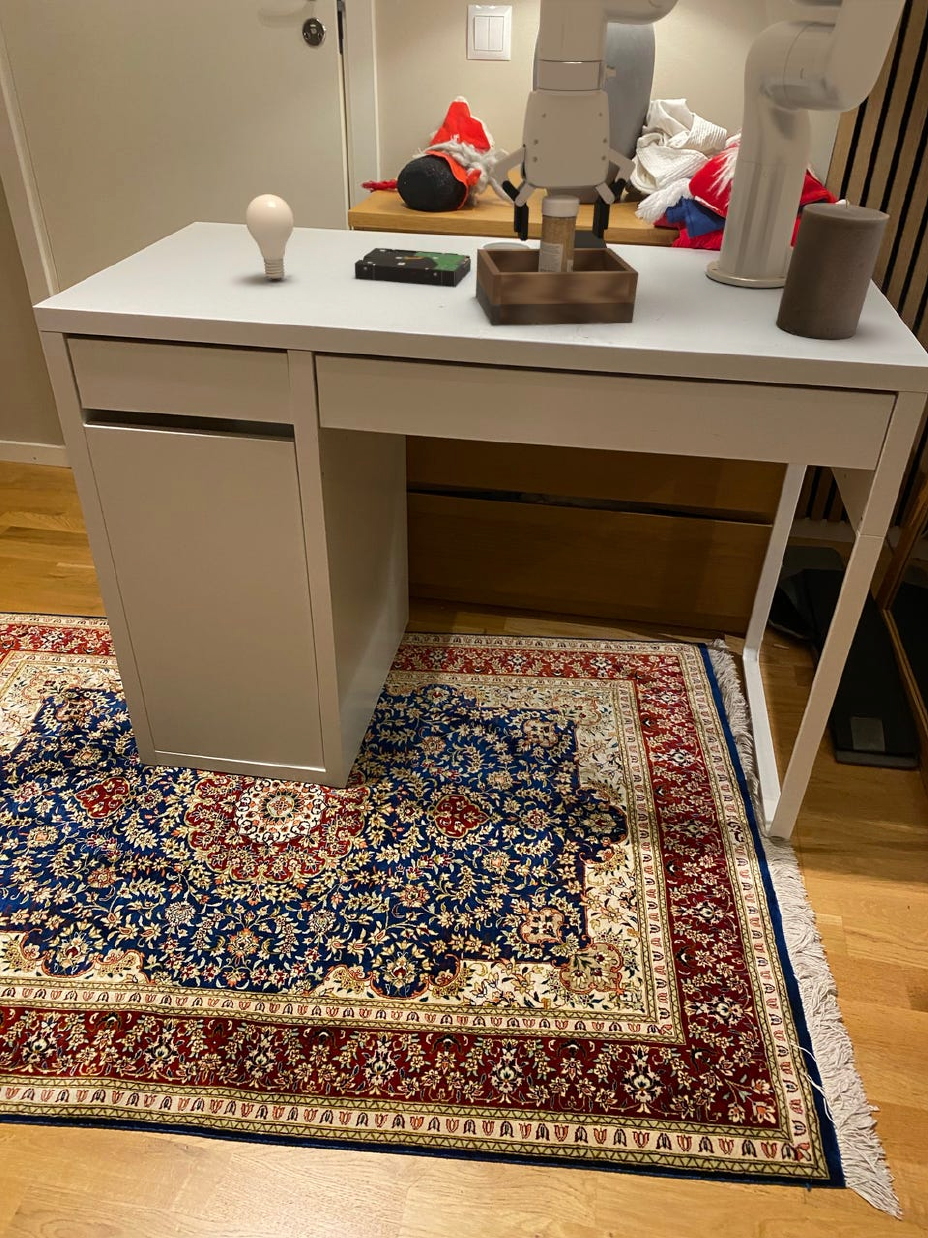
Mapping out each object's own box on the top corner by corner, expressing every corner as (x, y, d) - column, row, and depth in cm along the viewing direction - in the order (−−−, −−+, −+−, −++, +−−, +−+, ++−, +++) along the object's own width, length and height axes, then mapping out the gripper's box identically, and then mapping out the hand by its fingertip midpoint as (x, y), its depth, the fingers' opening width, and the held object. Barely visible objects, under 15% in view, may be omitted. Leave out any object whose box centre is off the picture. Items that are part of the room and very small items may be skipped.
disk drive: (354, 283, 127) (456, 290, 125) (353, 263, 126) (456, 269, 123) (375, 266, 136) (471, 272, 133) (374, 246, 134) (471, 252, 132)
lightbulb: (273, 271, 129) (265, 188, 123) (307, 278, 126) (301, 193, 120) (242, 281, 124) (232, 194, 118) (278, 288, 122) (269, 200, 116)
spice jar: (576, 310, 116) (587, 198, 109) (549, 315, 114) (558, 201, 107) (555, 302, 120) (563, 192, 112) (527, 306, 117) (534, 194, 110)
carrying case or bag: (537, 245, 148) (539, 267, 136) (538, 225, 146) (540, 246, 134) (602, 247, 148) (609, 270, 136) (604, 228, 146) (612, 249, 134)
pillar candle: (781, 336, 109) (813, 203, 101) (771, 313, 117) (800, 188, 109) (863, 343, 108) (902, 209, 100) (847, 319, 116) (883, 193, 108)
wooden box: (605, 293, 123) (610, 247, 120) (632, 322, 113) (638, 272, 109) (475, 295, 121) (477, 249, 118) (491, 325, 111) (493, 274, 107)
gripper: (633, 74, 106) (618, 228, 116) (490, 76, 104) (487, 232, 114) (653, 80, 100) (635, 242, 110) (500, 82, 98) (497, 246, 108)
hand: (560, 237), depth 112 cm, fingers open, 9 cm apart
